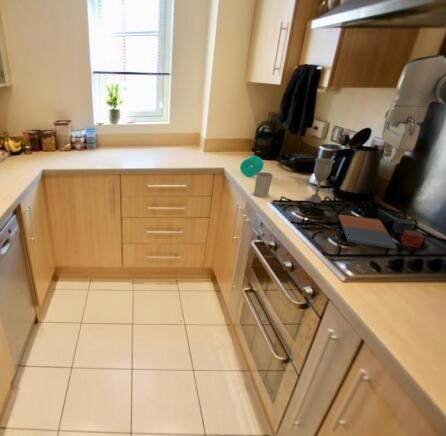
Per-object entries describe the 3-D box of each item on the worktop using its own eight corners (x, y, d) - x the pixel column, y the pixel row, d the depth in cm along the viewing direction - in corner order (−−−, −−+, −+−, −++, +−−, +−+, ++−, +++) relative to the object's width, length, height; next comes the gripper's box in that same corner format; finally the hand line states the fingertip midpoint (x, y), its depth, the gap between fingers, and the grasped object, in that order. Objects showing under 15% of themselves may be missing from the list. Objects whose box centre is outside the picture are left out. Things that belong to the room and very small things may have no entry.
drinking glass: (269, 193, 148) (272, 173, 144) (267, 198, 143) (272, 177, 138) (253, 191, 151) (257, 171, 147) (252, 196, 145) (255, 175, 141)
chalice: (302, 199, 141) (311, 159, 133) (311, 196, 144) (321, 157, 136) (317, 204, 135) (328, 163, 127) (327, 201, 138) (338, 161, 130)
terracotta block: (415, 242, 104) (420, 231, 102) (419, 248, 101) (424, 237, 99) (400, 240, 106) (404, 229, 104) (403, 245, 102) (408, 234, 101)
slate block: (406, 230, 112) (410, 219, 111) (409, 234, 109) (413, 224, 107) (392, 228, 114) (395, 218, 112) (395, 232, 111) (399, 222, 109)
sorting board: (379, 222, 118) (380, 219, 118) (396, 249, 100) (397, 246, 100) (338, 216, 123) (339, 214, 123) (347, 241, 105) (348, 238, 105)
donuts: (238, 175, 175) (240, 157, 171) (244, 171, 182) (247, 154, 178) (256, 178, 169) (259, 160, 165) (262, 174, 176) (265, 156, 172)
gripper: (432, 119, 86) (413, 168, 92) (408, 111, 103) (393, 153, 109) (403, 119, 89) (386, 166, 95) (384, 111, 106) (371, 152, 111)
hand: (390, 159), depth 102 cm, fingers open, 8 cm apart
